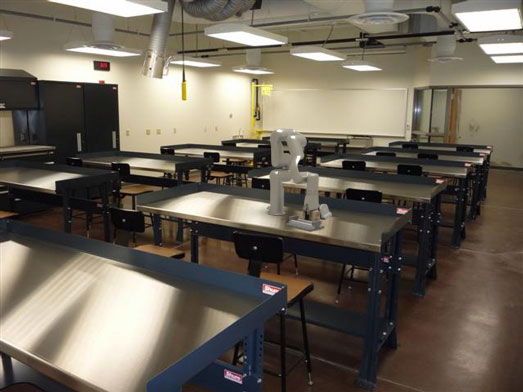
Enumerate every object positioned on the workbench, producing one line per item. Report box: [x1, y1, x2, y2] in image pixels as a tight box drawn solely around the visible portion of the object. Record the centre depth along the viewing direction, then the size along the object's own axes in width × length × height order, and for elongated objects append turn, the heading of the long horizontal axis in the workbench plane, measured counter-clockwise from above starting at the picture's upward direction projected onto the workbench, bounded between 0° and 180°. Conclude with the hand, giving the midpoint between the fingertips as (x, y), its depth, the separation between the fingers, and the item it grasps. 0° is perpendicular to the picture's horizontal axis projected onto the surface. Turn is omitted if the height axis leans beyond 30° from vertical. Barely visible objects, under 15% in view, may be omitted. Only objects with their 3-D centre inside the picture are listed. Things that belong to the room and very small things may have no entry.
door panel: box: [301, 210, 321, 222], centre depth 293 cm, size 12×3×9 cm, turn 46°
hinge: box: [318, 203, 333, 221], centre depth 313 cm, size 17×5×10 cm, turn 156°
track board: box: [285, 214, 325, 233], centre depth 284 cm, size 20×14×5 cm
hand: (311, 218), depth 293 cm, fingers open, 8 cm apart
